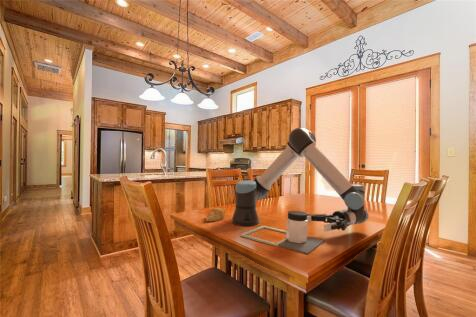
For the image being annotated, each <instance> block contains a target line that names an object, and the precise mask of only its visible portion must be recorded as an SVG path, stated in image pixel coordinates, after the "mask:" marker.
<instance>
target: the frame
mask: <svg viewBox="0 0 476 317" xmlns="http://www.w3.org/2000/svg"><path fill="white" fill-rule="evenodd" d="M263 229H267V230H271V231H274V232H275V231H276V232H278V233H279V232H280V233H284V234H286V230H284V229H280V228H275V227H271V226H267V225H261V226H259V227H256V228H254V229H251V230H249V231H245V232H243V233H241V234H240V237H242V238H245V239H249V240H253V241H256V242H260V243H263V244H266V245H270V246H275V247H276V248H277V247H280V245H281V244H283V243H285V242H287V241H288V239H287V238H286V237H284V238H283V239H281V240H279V241H278V242H273V241H270V240H266V239H262V238H258V237H255V236H252V235H251V234H253V233H256V232H257V231H260V230H263ZM250 235H251V236H250Z"/></svg>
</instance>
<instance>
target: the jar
mask: <svg viewBox="0 0 476 317" xmlns="http://www.w3.org/2000/svg"><path fill="white" fill-rule="evenodd" d="M307 214H308V213H307V212H305V211H302V210H289V211H288V212H287V217H286V230H285V231H286V233H285V238H287V239H288V241H289V242H294V243H299V244H300V243H303V242H306V241H307V237H308V223H309V222H308V221H307Z"/></svg>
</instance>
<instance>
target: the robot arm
mask: <svg viewBox="0 0 476 317" xmlns="http://www.w3.org/2000/svg"><path fill="white" fill-rule="evenodd" d="M316 145H317V139H316V135H315V134H314V133H313V132H312V131H311V130H309V129H307V128H305V127H297V128H294V129H293V130H291V132H290V133H289V136H288V141H287V142H286V147H285V148H284V150H283V151H281V153H280V154H279V155H278V156H277V157H276V159H274V160H273V161H272V163H271V164H270V165H269V166H268V167H267V168H266V169H265V170H264V171H263V172H262V174H261V175H256V177H255V178H254V179H253V180H250V179H249V180H248V179H247V180H246V179H245V180H240V181H237V182H236V184H235V209H234V211H233V216H232V218H231V220H232V224H233V225H237V226H244V227H249V226H256V225H258V224H259V223H260V222H259V221H260V219H259V218H260V217H259V215H258V212H257V201H260V200H263V199H265V198H266V197H267V196H268V194H269V192H270V191H271V189H272V185H273V184H274V183H275V182H277V180H278V179H279V178H280V177H281V175H282V174H283V173H285V171H286V170H288V168H289V167H290V166H291V165H292V164H293V163H294V162H295V161H296V160H297V159H298V158H303V157H304V158H305V159H306V160H307V162H309V163H310V165H311V166H312V167H313V168H314V169H315V170H316V171H317V172H318V174H319V175H320V176H321V177H322V178H323V179H324V180H325V181H326V182H327V183H328V185H329V186H330V187H331V188H332V189H333V191H335V193H337V195H338V196H339V197H340V199H342V201H343V202H344V204H345V206H346V207H347V208H346V209H341V210H335V211H334V212H332V214H326V213H322V214H321V213H317V214H316V213H311V214H310V213H309V214H308V213H307V221H308V222H307V223H311V222H322V223H324V224H323V225H324V226H323V230H324V232H330V231H335V230H338V231H339V230H341V231H345V230H346V229H347V228H348V227H350V226H353V225H358V224H362V223H363V224H364V223H365V222H366V221H368V219H369V212H368V211H367V210H366V209H365V187H364V185H362V184H352V183H351V182H350V181H349V180H348V179H347V178H346V177H345V175H343V173H341V171H340V170H339V169H338V167H336V166H335V165H334V164H333V163H332V161H330V159H329V158H328V157H327V156H326V155H325V154H324V153H323V152H322V151H321V150H320V149H319V148H318V147H317V146H316Z"/></svg>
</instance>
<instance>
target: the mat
mask: <svg viewBox="0 0 476 317" xmlns="http://www.w3.org/2000/svg"><path fill="white" fill-rule="evenodd" d="M324 242H325V240H323V239H320V238H315V237H310V236H307V241H306V242H303V243H300V244H299V243H294V242H289V241H286V242H284V243H283V244H281V245H279V247H280V248H283V249H288V250H291V251H295V252H298V253H302V254H306V255H310V253H312V252H313V251H314V250H316V249H317V248H318V247H319V246H320V245H322V244H323V243H324Z"/></svg>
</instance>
